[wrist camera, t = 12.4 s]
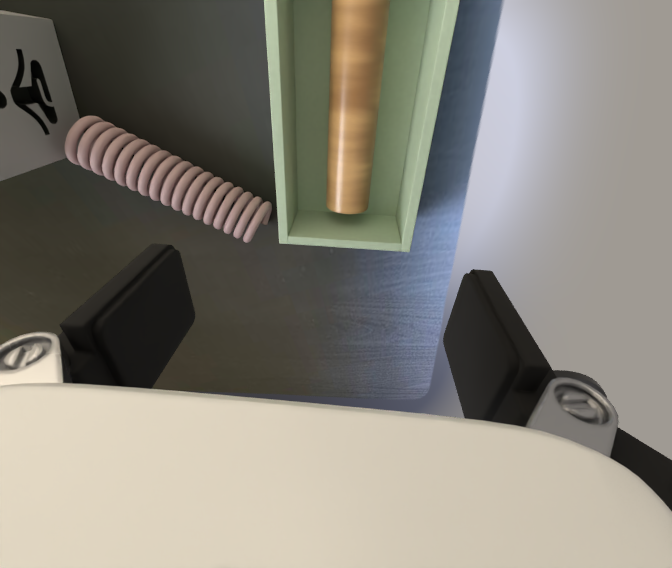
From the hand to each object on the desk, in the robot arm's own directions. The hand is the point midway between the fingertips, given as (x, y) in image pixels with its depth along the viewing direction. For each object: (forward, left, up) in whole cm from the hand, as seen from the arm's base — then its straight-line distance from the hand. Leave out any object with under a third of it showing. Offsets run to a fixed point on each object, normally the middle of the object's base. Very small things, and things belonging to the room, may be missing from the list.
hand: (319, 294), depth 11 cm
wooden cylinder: (-2, -3, -22) cm, 23 cm away
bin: (-1, -3, -23) cm, 24 cm away
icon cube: (+29, -3, -24) cm, 38 cm away
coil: (+16, +4, -24) cm, 29 cm away
